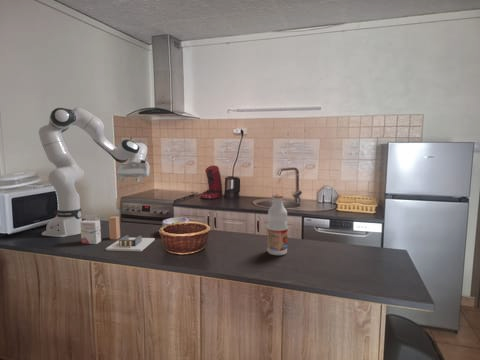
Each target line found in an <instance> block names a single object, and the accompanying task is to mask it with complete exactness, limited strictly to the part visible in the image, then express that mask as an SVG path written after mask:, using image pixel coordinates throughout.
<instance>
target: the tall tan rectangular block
mask: <svg viewBox="0 0 480 360" xmlns="http://www.w3.org/2000/svg"><path fill="white" fill-rule="evenodd" d="M120 226H121V225H120V216H117V215H115V216H114V215H113V216H110V217H108V230H109V240H116V241H118V240H119V239H121V227H120Z"/></svg>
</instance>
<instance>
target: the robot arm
mask: <svg viewBox="0 0 480 360" xmlns="http://www.w3.org/2000/svg"><path fill="white" fill-rule="evenodd" d="M48 119H49V120H48V121H49V122H48V124H45V125H43V126H41V127H40V128H39V130H38V136H39V140H40V143H41V145H42V148H43V150H44V153H45V155H46V157H47V159H48V161H49V162H50V163H52V165H54V166H55V167H56V168H55V169H53V170H52V171H50V172H49V174H48V175H47V176H48V177H47V178H48V179H47V180H48V182H49V183H50V184H51V186H53V189H54V190H55V192H56V195H57V204H58V210H56V211H54V213H55V214H56V216H55V217H54V218H52V219H51V220H50V221H49V222H48V223H47V224H46V229H45V230H44V231H42V232H41V236H46V237H57V238H65V237H69V236H75V235H81V223H80V222H82V221H83V220H82V218H83V216H82V215H83V213H82V211H83V210H82V208H81V198H80V193H78V192H77V190H76V186H75V185H76V184H78V183H80V182H82V181H83V180H84V178H85V171H84V169H83V168H82V167H80V165H78V164H77V162H76V161H75V160H74V158H73V156H72V155H71V153H70V152H69V149H68V147H67V145H66V143H65V140H64V137H63V135H62V133H64V132H66V131H67V130H68V129H69V128H70V127H71V126H76V127H78V128H79V129H82V130H83V131H84V132H85V133H87V135H88V136H90V137H91V139H92V141H94V142H95V143H96V144H97V146H99V147H100V148H101V149H102V150H104V151H105V152H106V153H107V154H109V156H111V157H112V158H113V160H115V162H118V163H121V164H120V165H119V166H118V168H117V170H116V172H115V174H116V176H117V178H120V183H125V178H135V183H139V182H140V181H141V180H142V179H143V178H149V176H150V172H151V170H150V169H151V166H150V164H149V162H148V161H147V160H146V158H147V154H148V147H147V145H146V144H144V143H143V142H135V141H133V140H131V139H123V140H122V141H121V142H120V143H119V145H117V146H115V145H114V144H113V143H112V142H111V141H109V140H108V139H107V138H106V136H105V125H104V121H103V120H101V118H99V117H98V116H97V115H94V114H93V113H92V112H90V111H88V110H86V109H84V108H82V107H74V108H72V109H71V108H70V109H69V108H65V107H56V108H54V109H53V110H52V111H51V112H50V114H49V118H48ZM128 160H129V161H128ZM127 161H128V163H126V162H127ZM123 163H126V164H123Z"/></svg>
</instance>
